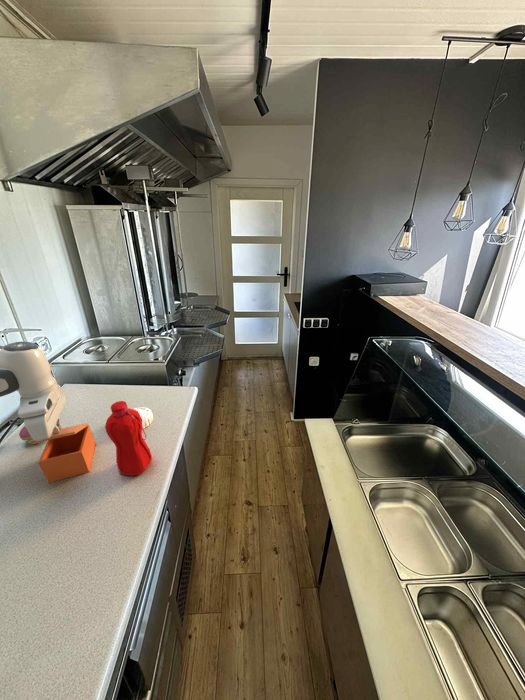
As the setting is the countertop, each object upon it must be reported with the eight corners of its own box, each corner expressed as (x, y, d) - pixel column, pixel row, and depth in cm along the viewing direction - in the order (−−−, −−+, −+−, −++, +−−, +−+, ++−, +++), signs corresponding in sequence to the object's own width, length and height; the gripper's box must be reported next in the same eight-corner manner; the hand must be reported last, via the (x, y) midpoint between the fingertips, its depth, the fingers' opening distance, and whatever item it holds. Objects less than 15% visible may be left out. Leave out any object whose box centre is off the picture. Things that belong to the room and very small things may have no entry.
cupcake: (27, 436, 109) (14, 411, 104) (53, 429, 112) (42, 404, 107) (22, 451, 102) (8, 425, 97) (50, 443, 106) (38, 417, 100)
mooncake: (117, 421, 116) (115, 414, 114) (146, 409, 123) (144, 402, 121) (127, 437, 108) (125, 429, 106) (158, 422, 115) (156, 415, 113)
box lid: (75, 434, 87) (74, 431, 87) (30, 444, 84) (29, 441, 84) (88, 424, 101) (88, 422, 101) (50, 433, 97) (50, 431, 97)
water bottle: (146, 479, 90) (128, 416, 79) (115, 475, 92) (93, 412, 81) (160, 457, 98) (146, 397, 87) (131, 453, 100) (114, 394, 89)
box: (89, 471, 93) (81, 452, 89) (48, 482, 90) (38, 462, 86) (95, 443, 105) (88, 424, 101) (59, 452, 101) (51, 433, 98)
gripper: (40, 379, 91) (55, 413, 97) (14, 417, 74) (35, 457, 80) (62, 375, 93) (76, 409, 99) (43, 412, 75) (60, 450, 81)
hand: (57, 431), depth 89 cm, fingers closed
